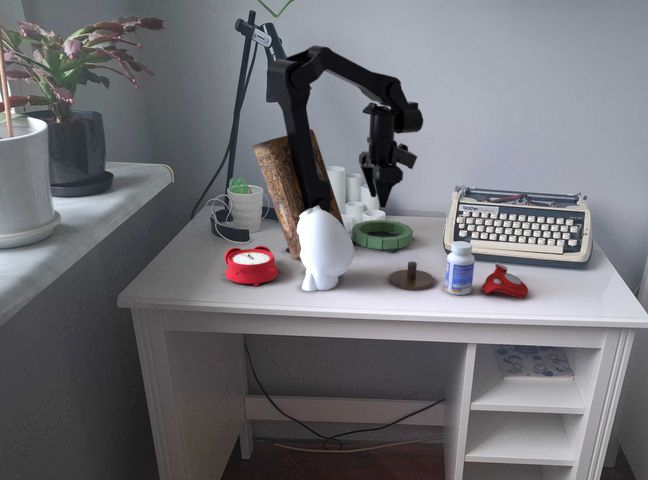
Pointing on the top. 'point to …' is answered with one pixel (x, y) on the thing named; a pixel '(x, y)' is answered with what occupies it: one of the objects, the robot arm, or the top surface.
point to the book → (289, 186)
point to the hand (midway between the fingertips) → (378, 202)
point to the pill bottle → (460, 268)
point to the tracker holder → (504, 283)
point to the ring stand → (411, 278)
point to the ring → (382, 242)
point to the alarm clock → (250, 265)
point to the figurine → (323, 249)
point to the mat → (382, 234)
